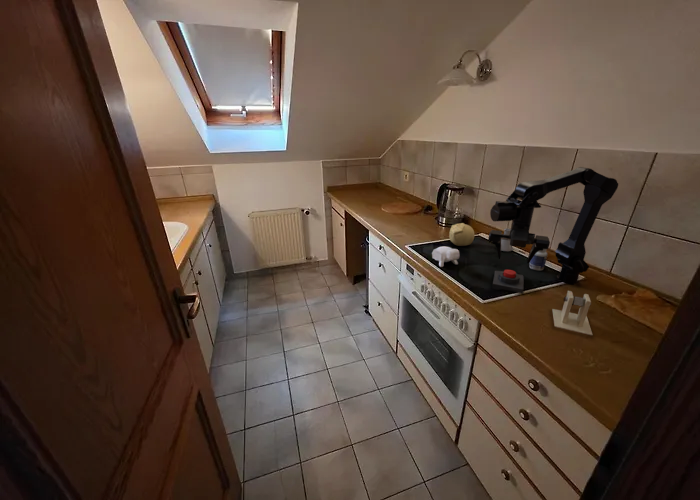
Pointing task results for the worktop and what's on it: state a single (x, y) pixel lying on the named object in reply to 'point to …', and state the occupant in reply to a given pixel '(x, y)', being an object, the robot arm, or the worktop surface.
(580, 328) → the beige u-shaped holder
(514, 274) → the button
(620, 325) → the worktop surface
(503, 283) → the button housing
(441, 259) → the white animal figurine
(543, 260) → the pill bottle
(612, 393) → the worktop surface
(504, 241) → the flask
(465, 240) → the sculpture
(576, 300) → the lever
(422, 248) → the worktop surface
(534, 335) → the worktop surface
